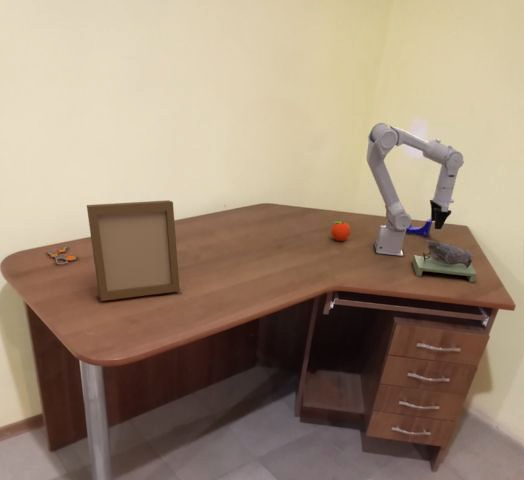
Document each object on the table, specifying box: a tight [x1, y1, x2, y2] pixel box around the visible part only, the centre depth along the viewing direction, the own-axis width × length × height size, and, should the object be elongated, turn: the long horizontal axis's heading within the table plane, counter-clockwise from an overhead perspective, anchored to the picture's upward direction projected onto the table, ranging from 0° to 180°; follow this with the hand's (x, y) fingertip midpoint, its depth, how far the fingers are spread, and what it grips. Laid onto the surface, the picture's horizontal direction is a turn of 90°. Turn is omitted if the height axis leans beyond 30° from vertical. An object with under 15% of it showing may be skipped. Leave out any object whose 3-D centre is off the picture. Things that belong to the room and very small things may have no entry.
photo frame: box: [86, 200, 181, 302], centre depth 143 cm, size 15×22×25 cm
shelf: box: [411, 254, 478, 283], centre depth 175 cm, size 19×10×3 cm, turn 85°
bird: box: [422, 239, 474, 268], centre depth 172 cm, size 5×16×8 cm, turn 79°
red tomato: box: [328, 220, 351, 242], centre depth 191 cm, size 8×7×7 cm
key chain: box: [46, 245, 77, 265], centre depth 163 cm, size 13×7×1 cm, turn 31°
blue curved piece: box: [405, 218, 433, 238], centre depth 204 cm, size 12×4×6 cm, turn 58°
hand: (435, 224), depth 184 cm, fingers open, 7 cm apart
